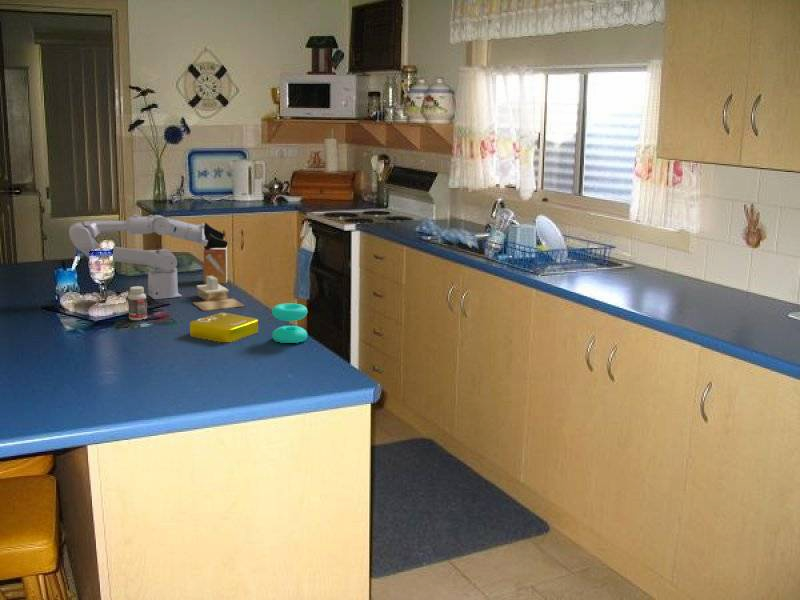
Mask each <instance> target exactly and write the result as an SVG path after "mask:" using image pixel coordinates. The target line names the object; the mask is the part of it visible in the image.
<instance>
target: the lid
mask: <svg viewBox="0 0 800 600" xmlns="http://www.w3.org/2000/svg"><path fill="white" fill-rule="evenodd" d="M196 288H197V289H198V288H199V289H200V290H202V291H203V292H205V293H206V294H209V293H219V292H227V293H229V292H230V291H229V289H228V288H227V287H224V286H223V285H222V284H218V279H217V278H215V277H214V276H207V284H199V285H196Z"/></svg>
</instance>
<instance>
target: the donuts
mask: <svg viewBox="0 0 800 600" xmlns="http://www.w3.org/2000/svg"><path fill="white" fill-rule="evenodd" d="M271 313H272V316H273V317H274V318H275V319H277V320H279V321H284V322H295V321H300V320H303V319H304V318H305V317H306V316H307V314H308V308H307V307H306V306H305V305H303V304H301V303H294V302H293V303H291V302H289V303H288V302H286V303H280V304H277V305H275V306H274V307H272V309H271ZM271 335H272V336H271V337H272V339H273V341H274V342H276V343H278V342H280V343H279V344H282V343H296V344H300V343H299V342H301V343H303V342H305V341H306V340H307V338H308V331H307V330H306V329H304V328H303V327H301V326H297V325H282V326H278V327H277V328H276V329H274V330H273V331H272V334H271Z"/></svg>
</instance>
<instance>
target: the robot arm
mask: <svg viewBox="0 0 800 600" xmlns="http://www.w3.org/2000/svg"><path fill="white" fill-rule="evenodd" d="M123 231H124V232H126V231H127V233H128V234H130V235H141V234H142V235H146V234H147V235H148V234H152V233H155V234H157V235H158V236H163V235H166V236H170V237H173V238H177V239H180V240H185V241H188V242H192V243H193V242H194V243H196V244H199V245H200V246H203V250H204V249H206V250H208V249H212V248H226V246H227V247H228V241H227V240H224V238H225V233H223V232H222V231H220V230H217V229H215V228H213V227H212V226H211V225H209V224H208V223H207V222H205V223H204V222H202V223H201V224H193V223H189V222H186V221H183V220H182V221H181V220H177V219H171V218H167V217H165V216H163V215H159V214H155V215H153V214H149V215H148V216H139V215H138V214H133V215H132V216H129V217H128V218H127V219H126V220H86V221H83V222H79V221H77V222H74V223H72V224H71V225H70V226H69V229H68V234H69V239H70V240H71V242H72V244H73V245H74V247H75V248H76V249H77V250H79V251H80V252H82V253H83V254H84V255H86V256H87V257H88V258H89V254H90V253H89V252H90V250H92V249H93V250H95V249H97V248H99V247H100V246H99V245H100V244H99V243H98V242H97V241H96V240H95V238H96V237H97V236H98V235H100V234H102V233H109V232H123ZM113 247H114V248H113V260H114V261H113V262H116V263H117V262H119V263H124V264H126V263H128V264H134V265H144V266H149V267H152V268H155V269H154V270H153V271H149V272H148V275H147V284H148V286H147V287H148V289H147V290H148V293H147V295H148V296H150V298H152V299H153V300H163V299H171V298H172V299H173V298H174V299H175V298H182V297H183V295H182V294H180V293H179V288H178V285H179V284H178V283H179V282H178V268H177V266H178V259H177V257H176V256H175V255H174V254H173V252H172V251H171V250H170V249H168V248H159V249H155V250H154V249H151V250H150V249H149V250H148V249H147V250H145V249H139V248H129V247H121V246H113Z"/></svg>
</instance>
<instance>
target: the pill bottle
mask: <svg viewBox="0 0 800 600" xmlns="http://www.w3.org/2000/svg"><path fill="white" fill-rule="evenodd" d="M144 292H145V289H144V286H141V285H137V286H131V287H129V293H130V294H128V296H127V299H128V300H127V303H128V319H129V320H131V321H143V320H142V319H144V320H146V319H147V318H148V307H147V306H148V304H147V295H146V294H145V293H144Z"/></svg>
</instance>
